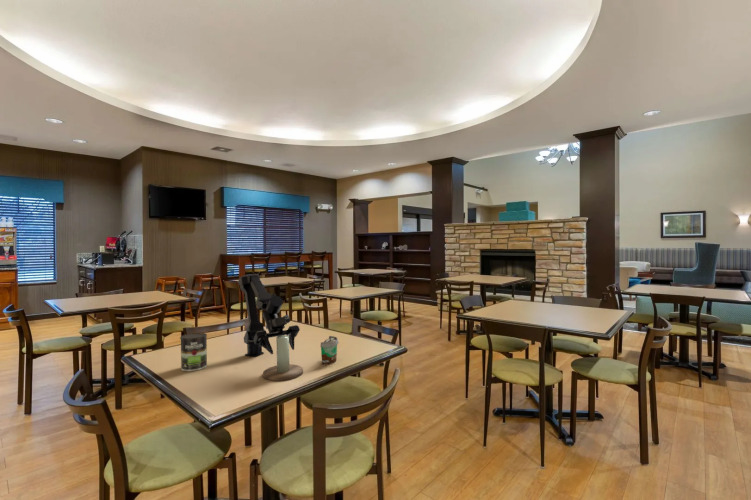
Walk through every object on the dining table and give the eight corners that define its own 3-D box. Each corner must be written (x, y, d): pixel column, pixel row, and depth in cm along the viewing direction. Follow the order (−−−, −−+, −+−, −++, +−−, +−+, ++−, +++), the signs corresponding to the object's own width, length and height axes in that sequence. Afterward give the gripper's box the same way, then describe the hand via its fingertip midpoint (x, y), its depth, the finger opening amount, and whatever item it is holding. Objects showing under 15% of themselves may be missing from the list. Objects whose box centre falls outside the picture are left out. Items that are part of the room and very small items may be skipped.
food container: (334, 365, 157) (333, 343, 157) (320, 365, 158) (320, 342, 158) (342, 357, 169) (342, 336, 169) (329, 356, 170) (329, 335, 170)
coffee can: (207, 368, 155) (207, 336, 155) (180, 373, 151) (180, 339, 150) (206, 362, 164) (206, 331, 164) (181, 366, 160) (180, 334, 160)
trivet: (254, 377, 145) (254, 374, 145) (282, 365, 159) (281, 362, 159) (284, 383, 137) (284, 380, 137) (311, 370, 152) (310, 367, 152)
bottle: (275, 373, 146) (275, 338, 145) (278, 368, 151) (277, 335, 150) (288, 372, 146) (287, 338, 146) (290, 368, 151) (289, 335, 151)
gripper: (255, 312, 146) (266, 345, 138) (297, 306, 158) (309, 336, 149) (249, 327, 152) (259, 360, 144) (290, 321, 164) (301, 351, 155)
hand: (283, 351), depth 148 cm, fingers open, 9 cm apart
